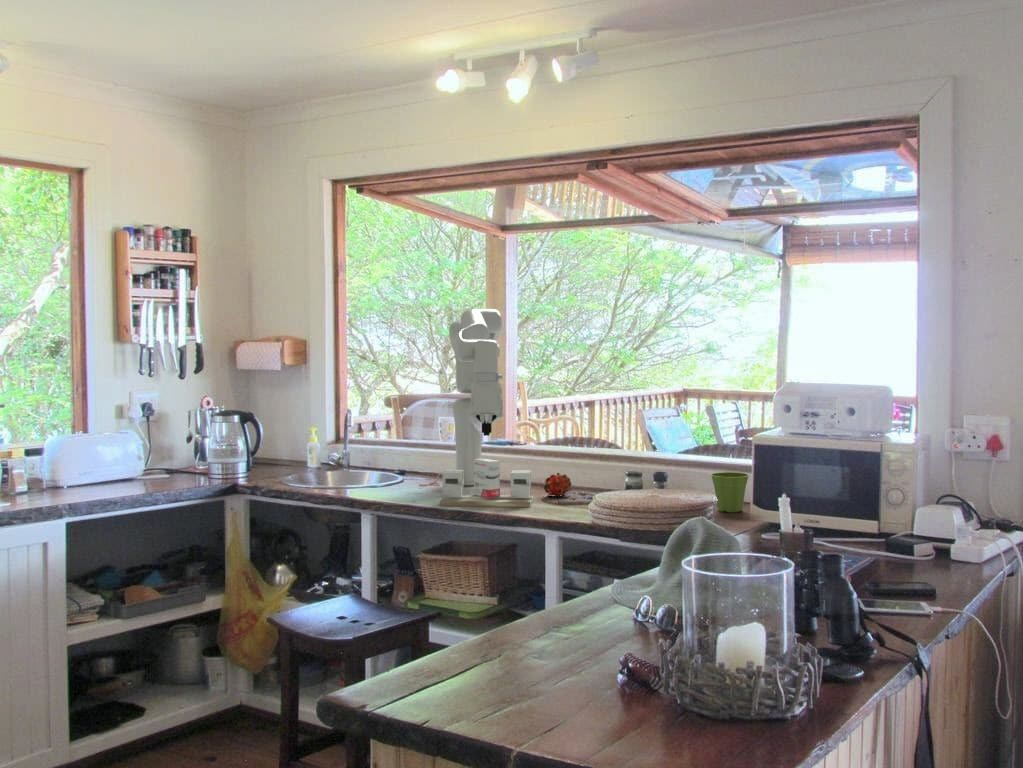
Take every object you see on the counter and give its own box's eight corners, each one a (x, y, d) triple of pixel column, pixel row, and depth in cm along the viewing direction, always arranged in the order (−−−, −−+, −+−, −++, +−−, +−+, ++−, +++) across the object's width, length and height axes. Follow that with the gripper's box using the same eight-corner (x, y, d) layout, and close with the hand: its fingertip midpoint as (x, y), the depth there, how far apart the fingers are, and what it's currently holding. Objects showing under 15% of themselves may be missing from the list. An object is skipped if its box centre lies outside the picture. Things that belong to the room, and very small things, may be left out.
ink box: (500, 496, 310) (500, 460, 309) (488, 498, 307) (487, 461, 306) (485, 493, 317) (485, 457, 316) (473, 495, 314) (472, 459, 313)
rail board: (445, 499, 319) (445, 468, 318) (533, 500, 316) (533, 469, 316) (439, 505, 307) (439, 473, 306) (530, 506, 304) (530, 474, 304)
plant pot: (731, 506, 303) (731, 470, 303) (757, 512, 293) (758, 475, 292) (701, 509, 298) (702, 473, 297) (727, 515, 287) (727, 477, 287)
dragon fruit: (572, 499, 329) (548, 508, 321) (556, 482, 333) (532, 491, 325) (581, 480, 324) (557, 490, 316) (564, 464, 328) (540, 473, 320)
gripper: (510, 378, 313) (510, 434, 313) (464, 378, 314) (465, 434, 315) (508, 378, 305) (508, 436, 306) (461, 378, 307) (462, 436, 307)
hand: (486, 435), depth 310 cm, fingers closed
